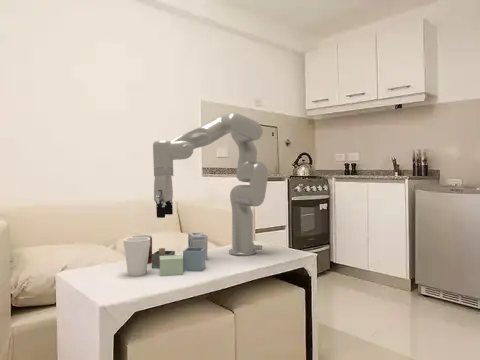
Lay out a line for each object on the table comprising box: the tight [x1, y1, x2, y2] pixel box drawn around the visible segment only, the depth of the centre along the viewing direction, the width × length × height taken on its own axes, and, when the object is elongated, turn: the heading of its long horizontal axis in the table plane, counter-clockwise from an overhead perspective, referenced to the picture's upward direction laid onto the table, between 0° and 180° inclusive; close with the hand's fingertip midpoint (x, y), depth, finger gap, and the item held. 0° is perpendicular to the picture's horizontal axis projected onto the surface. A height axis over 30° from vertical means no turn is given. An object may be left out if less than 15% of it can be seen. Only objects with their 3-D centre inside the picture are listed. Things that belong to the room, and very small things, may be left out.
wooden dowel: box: [158, 247, 166, 254], centre depth 145 cm, size 2×2×7 cm
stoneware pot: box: [182, 246, 206, 272], centre depth 141 cm, size 7×7×8 cm
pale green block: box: [159, 254, 184, 277], centre depth 135 cm, size 8×6×6 cm
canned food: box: [132, 234, 153, 264], centre depth 153 cm, size 8×8×11 cm
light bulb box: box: [187, 231, 209, 261], centre depth 160 cm, size 11×7×11 cm, turn 18°
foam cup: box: [123, 236, 150, 277], centre depth 134 cm, size 10×9×13 cm
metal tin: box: [151, 250, 176, 269], centre depth 146 cm, size 7×7×6 cm
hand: (165, 216), depth 146 cm, fingers open, 9 cm apart
